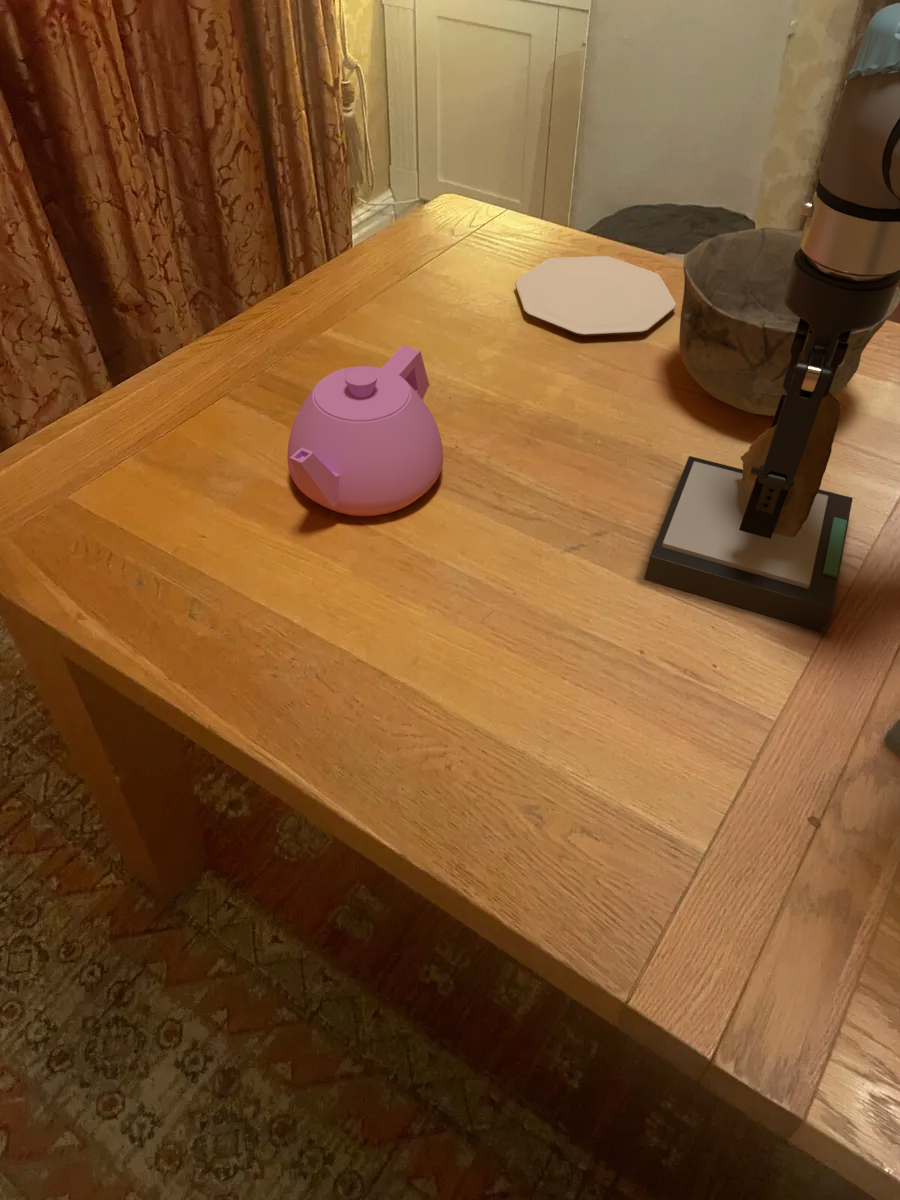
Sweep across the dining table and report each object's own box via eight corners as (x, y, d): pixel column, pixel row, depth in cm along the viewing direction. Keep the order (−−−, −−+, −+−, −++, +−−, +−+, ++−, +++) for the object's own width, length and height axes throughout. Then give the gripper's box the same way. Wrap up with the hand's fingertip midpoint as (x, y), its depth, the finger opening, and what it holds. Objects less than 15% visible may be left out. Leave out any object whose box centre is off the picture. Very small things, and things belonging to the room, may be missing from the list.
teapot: (359, 400, 102) (352, 301, 93) (482, 441, 97) (487, 341, 89) (239, 513, 89) (219, 410, 80) (375, 567, 84) (369, 464, 75)
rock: (832, 539, 75) (872, 465, 79) (791, 457, 71) (835, 384, 76) (719, 549, 83) (761, 481, 88) (677, 476, 80) (724, 410, 84)
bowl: (792, 482, 94) (841, 354, 83) (619, 398, 103) (641, 274, 92) (884, 394, 105) (937, 271, 94) (719, 326, 115) (750, 207, 104)
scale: (842, 520, 90) (855, 492, 87) (821, 632, 79) (835, 604, 77) (683, 478, 94) (690, 450, 91) (644, 579, 84) (651, 551, 81)
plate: (696, 298, 120) (698, 287, 118) (619, 360, 109) (621, 349, 108) (570, 253, 128) (571, 242, 127) (487, 307, 117) (488, 296, 116)
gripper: (817, 188, 74) (747, 415, 90) (771, 321, 59) (697, 563, 75) (914, 205, 72) (825, 433, 88) (891, 347, 57) (789, 589, 73)
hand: (766, 493), depth 82 cm, fingers closed on rock, 10 cm apart
